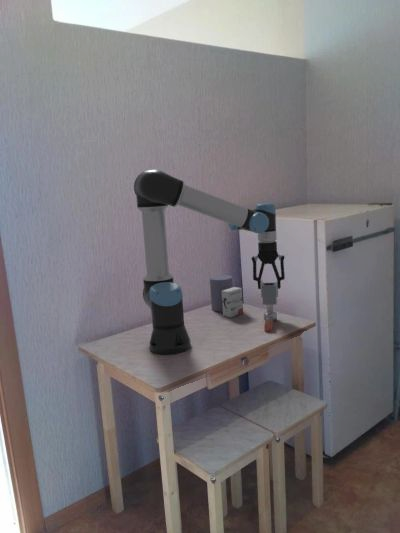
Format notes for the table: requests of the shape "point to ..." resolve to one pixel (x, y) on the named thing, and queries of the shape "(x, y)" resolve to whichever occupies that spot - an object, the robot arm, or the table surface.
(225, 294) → the ink box
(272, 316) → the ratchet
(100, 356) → the table surface
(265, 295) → the socket
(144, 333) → the table surface
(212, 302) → the container
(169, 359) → the table surface
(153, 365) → the table surface
